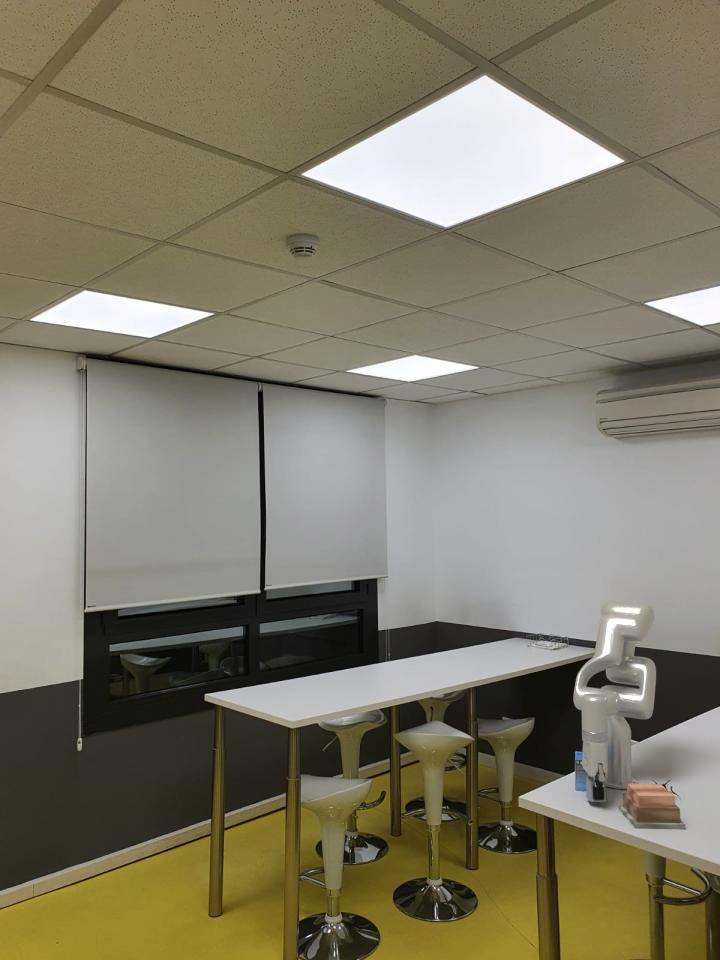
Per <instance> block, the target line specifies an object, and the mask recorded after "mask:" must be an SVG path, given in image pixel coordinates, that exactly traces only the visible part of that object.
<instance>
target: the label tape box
mask: <svg viewBox="0 0 720 960" xmlns="http://www.w3.org/2000/svg"><path fill="white" fill-rule="evenodd" d="M582 758H583V751H575V759H574V787H575V788H574V789H575V791H577V792H586V776H588V773H587V772H586V771H585V770H584V768H583V766H582ZM598 776H599V774H598Z"/></svg>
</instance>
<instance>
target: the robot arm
mask: <svg viewBox="0 0 720 960" xmlns="http://www.w3.org/2000/svg"><path fill="white" fill-rule="evenodd" d="M600 612H601V613H600V615H601V618H600V619H599V624H598V629H597V630H598V631H597V635H596V641H595V642H596V643H595V649H594V654H593V657H591V658H590V659H589V660H588V661H587V662H586V663H584V665H582V667H581V668H580V670H579V671H578V672H577V675H576V679H575V683H574V684H575V685H574V688H573V690H574V691H573V696H572V697H573V700H572V701H573V704H574V707H575V708H576V709H578V710H579V711H581V741H582V752H583V758H582V766H583V768H584V770H585V771H586V772H587V773H588V776H591V777H593V781H594V786H593V799H594V800H604V782H605V788H606V787H607V788H610V789H616V790H627V784H638V782H637V780H636V779H635V778H633V776H632V771H633V770H632V769H633V768H632V767H633V766H632V731H631V730H632V729H631V727H630V724H629V723H628V721H627V720H626V718H630V719H637V720H649V719H650V718H651V717H652V716H653V712H654V707H655V696H656V685H657V684H656V683H657V667H656V664H655V662H654V661H653V660H652V659H651V658H649V657H644V656H636V655H635V648H636V642H642V641H644V639H646V637H647V635H648V633H649V632H650V631H651V628H652V626H653V625H654V622H655V612H654V609H653V607H652V606H651V605H650V604H648V603H647V604H646V603H642V602H641V603H640V602H638V603H637V602H627V601H626V602H625V601H624V602H623V601H610V602H609V601H608V602H605V603H604V604H603V605H601V610H600ZM602 671H605V675H606V678H607V680H609V681H610V682H612V683H617V684H621V685H613V684H611V685H610V684H608V685H607V684H606V685H604V686H602V687H600V688H599V687H591V686H590V687H589V686H587V685H588V682H589V680H590V679H591V678H592V677H593V676H594V675H595V674H598V673H600V672H602ZM622 684H623V685H631V686H638V688H635V687H629V686H622ZM598 774H599V776H598ZM596 778H599V780H597V781H596Z"/></svg>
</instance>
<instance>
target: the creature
mask: <svg viewBox="0 0 720 960" xmlns="http://www.w3.org/2000/svg"><path fill="white" fill-rule="evenodd" d="M651 781H652V782H654V784H658V782H656V781H655V780H653V779H652V780H651ZM670 781H671V779H669V780H668V781H666V782H665V783H661V785H662V786H664V787H665V788H666V789H667V790H668V787H669V784H668V783H669V782H670ZM668 791H669V792H670V793H671V794H673V795H675V796H677V797H680V795H679V794H677V793H676V792H675V791H673V786H670V790H668Z"/></svg>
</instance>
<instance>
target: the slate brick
mask: <svg viewBox="0 0 720 960" xmlns="http://www.w3.org/2000/svg"><path fill="white" fill-rule="evenodd" d="M597 780H599V778H596V781H597ZM593 786H594V781H593V777H591V776H586V791H585V792H586V794H585V795H586V798H587V799H588V800H589V801H590V802H592V803H593V802H594V803H606V802H607V799H606V797H607V795H606V792H607V791H606V786H605V782H604V800H594V799H593Z"/></svg>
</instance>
